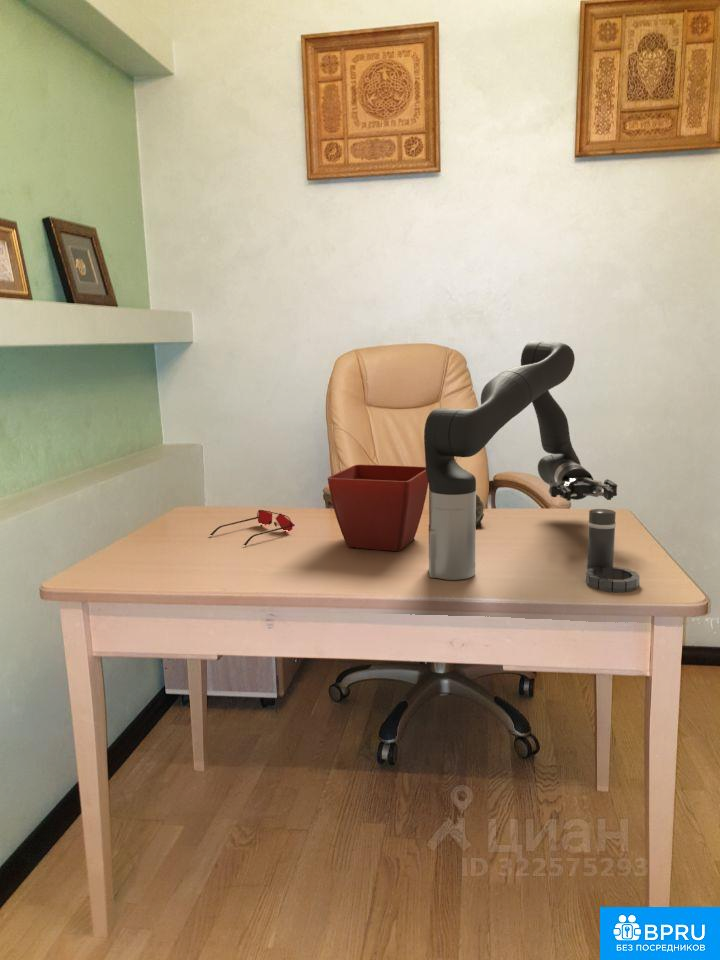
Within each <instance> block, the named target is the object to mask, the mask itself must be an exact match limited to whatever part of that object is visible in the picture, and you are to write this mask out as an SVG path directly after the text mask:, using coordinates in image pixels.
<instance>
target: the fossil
mask: <svg viewBox="0 0 720 960" xmlns="http://www.w3.org/2000/svg"><path fill="white" fill-rule="evenodd" d="M484 508H485V505H484V502H483V501H482V500H481V498H480V496H479V495H478V494H477V493H476V526H477V525H479V524H480V523H481V522H482V521H483V518H484V516H485V514H484V510H485V509H484Z"/></svg>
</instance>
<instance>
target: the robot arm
mask: <svg viewBox="0 0 720 960" xmlns="http://www.w3.org/2000/svg"><path fill="white" fill-rule="evenodd" d="M575 359H576V358H575V353H574V351H573V349H572V348H571V346H569V345H568V344H566V343H563V342H556V341H554V342H553V341H546V340H545V341H542V340H541V341H540V340H531V341H529V342H528V343H526V345H524V347H523V349H522V351H521V357H520V365H519V366H516V367H512V368H508V369H505V370H504V371H502V372H500V373H498V375H496V376H495V377H493V378H492V379H490V380H489V381H488V382H487V383H486V384H485V385H484V387H483V388H482V391H481V393H480V405H479V406H477V407H475V408H470V409H469V408H468V409H463V408H462V409H461V408H436V409H433V410H431V412H429V414H428V416H427V417H426V420H425V424H424V432H423V444H424V459H425V461H424V462H425V463H424V464H425V467H426V475H427V479H428V482H429V483H428V503H429V504H428V511H429V512H428V517H429V518H428V522H429V523H428V571H429V573H428V574H429V578H435V579H436V578H437V579H440V580H441V579H442V580H447V581H448V580H449V581H459V580H466V579H470V578H473V577H474V576H475V575H476V533H477V531H476V528H477V527H476V526H477V525H476V494H477V479H476V477H475V475H474V474H472V472H470V471H467V470H466V469H465V468H462V467H461V466H460V465H459V464H458V461H456V459H455V457H456V458H469V457H470V458H471V457H473V456H475V455H476V454H478V453H480V452H481V450H482V449H484V447H485V446H486V445H488V443H489V442H490V441H491V439H493V438H494V436H495V435H496V434H497V432H499V431H500V430H501V429H503V427H504V426H505V425H506V424H507V423H508V422H509V421H511V420H512V419H513V418H514V417H516V416H518V415H519V414H520V413H522V412H523V410H525V409H526V408H528V406H529V405H530V404H531V403H532V406H533V408H534V411H535V414H536V415H535V416H536V419H537V423H538V428H539V436H540V437H539V438H540V443H541V447H542V449H543V451H544V452H546V453H548V454H550V455H546V456H543V457H542V458H540V460H538V463H537V471H538V475H539V477H540V478H541V479H542V481H543V482H544V483H546V484H548V493H549V495H550V496H551V497H552V498H557V497H558V496H559V497H560V498H562V499H563V500H564V499H565V500H566V501H567V502H569V501H571V500H573V501H579V500H583V499H585V498H586V497H588V496H589V497H595V498H599V497H604V499H605V500H607V501H611V500H612V499H613V498H614V497H616V496H618V493H617V492H618V484H617V483H615V482H614V481H612V480H610V479H604V481H603V482H602V481H600V480H594V478H593V475H592V474H591V473H590V472H589V471H588V470H587V469H586V468H585V467H583V466H582V465H581V461H580V459H579V457H578V455H577V453H576V451H575V449H574V447H573V445H572V441H571V436H570V427H569V422H568V417H567V416H566V414H565V412H564V410H563V408H562V407H561V406H560V404H559V403H558V402H557V401H556V399H555V398H554V396H553V395H552V394H551V393H550V391H549V390H551V389H554V388H555V387H558V386H559V385H560V384H562V383H563V382H565V381H566V380H567V379H568V378H569V376H570V375H571V373H572V371H573V368H574V366H575ZM602 490H603V491H602Z"/></svg>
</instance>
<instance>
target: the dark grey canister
mask: <svg viewBox="0 0 720 960" xmlns="http://www.w3.org/2000/svg"><path fill="white" fill-rule="evenodd" d="M588 513H589V514H588V524H587V525H588V536H587V537H588V538H587V541H588V542H587V561H586V562H587V563H586V564H587V565H586V569H587V570H588V569H590V568H594V567H598V566H599V567H600V566H612V567H613V566H614V559H615V555H614V554H615V538H616V537H615V535H616V532H615V531H616V527H617V526H616V511H614V510H613V509H606V508H594V509H590V510H589V511H588Z"/></svg>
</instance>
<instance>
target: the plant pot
mask: <svg viewBox="0 0 720 960" xmlns="http://www.w3.org/2000/svg"><path fill="white" fill-rule="evenodd" d="M327 483H328V488H329V494H330V499H331V502H332V505H333V506H332V507H333V510H334V514H335V518H336V520H337V523H338V526H339V528H340V531H341V532H340V533H341V534H342V537H343V539H344V542H345V544H346V546H347V547H348V548H353V547H355V549H356V548H358V549H365V550H366V549H368V550H369V549H370V550H381V551H390V552H391V551H393V552H398V551H401V550H402V549H403V548H404V547H406V546H407V545H409V543H410V542H411V541H412V540H414V539H415V537H416V534H417V532H418V528H419V525H420V521H421V518H422V514H423V512H424V511H423V510H424V506H425V502H426V499H427V493H428V489H429V482H428V479H427V475H426V466H414V465H413V466H412V465H411V466H410V465H390V464H389V465H382V464H355V465H352V466H349V467H347V468H344V469H343V470H341V471H339V472H337V473H334V474H332V475H330V476H327Z"/></svg>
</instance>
